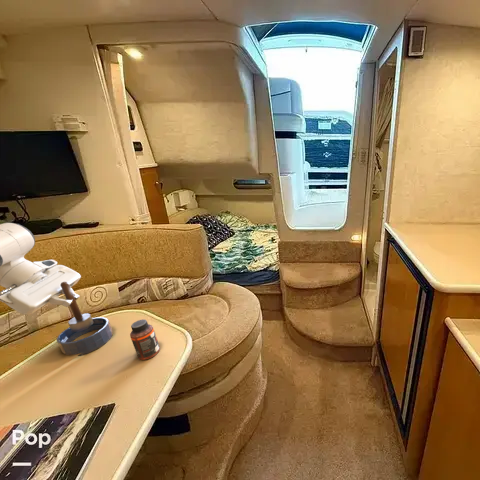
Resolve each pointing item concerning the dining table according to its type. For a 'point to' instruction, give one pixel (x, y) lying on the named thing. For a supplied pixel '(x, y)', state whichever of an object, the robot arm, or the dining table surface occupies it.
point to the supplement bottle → (144, 339)
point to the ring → (88, 342)
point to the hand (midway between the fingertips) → (74, 301)
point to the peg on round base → (76, 312)
